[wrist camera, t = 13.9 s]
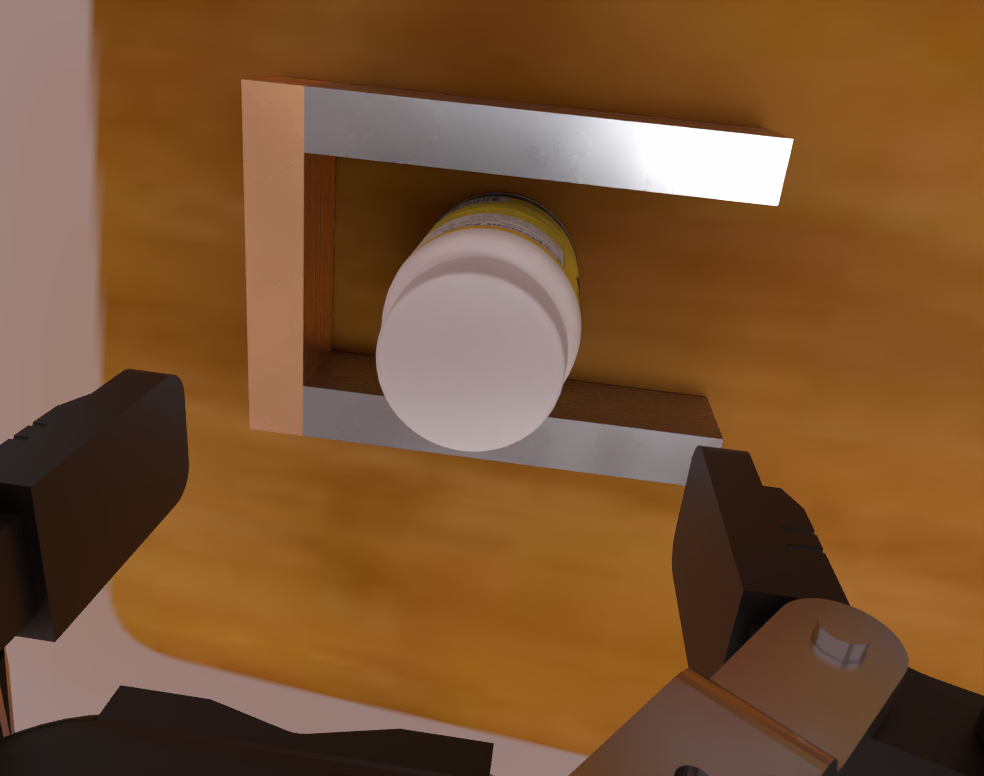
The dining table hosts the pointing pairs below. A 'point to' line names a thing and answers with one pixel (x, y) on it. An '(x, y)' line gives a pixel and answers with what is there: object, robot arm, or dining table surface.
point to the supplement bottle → (482, 324)
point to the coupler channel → (478, 148)
